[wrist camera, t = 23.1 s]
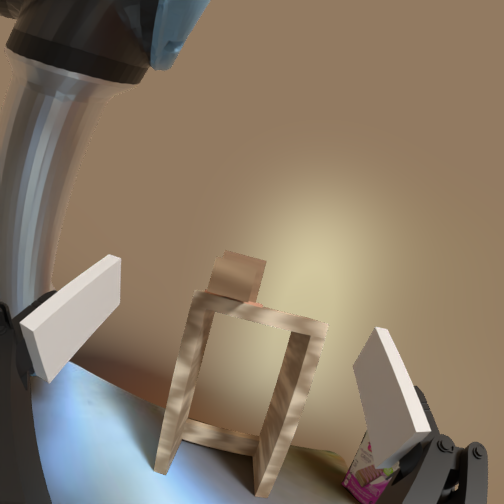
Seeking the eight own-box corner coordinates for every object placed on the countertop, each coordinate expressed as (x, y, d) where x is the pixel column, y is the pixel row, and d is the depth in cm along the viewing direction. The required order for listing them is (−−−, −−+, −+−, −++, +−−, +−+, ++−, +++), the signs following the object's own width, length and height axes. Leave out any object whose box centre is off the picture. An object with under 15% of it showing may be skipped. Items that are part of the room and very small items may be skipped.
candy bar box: (339, 484, 36) (371, 412, 39) (359, 480, 37) (391, 411, 40) (370, 515, 26) (414, 436, 28) (391, 508, 27) (433, 431, 29)
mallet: (263, 306, 23) (281, 236, 24) (192, 287, 23) (212, 218, 24) (253, 302, 47) (262, 267, 48) (218, 292, 47) (228, 257, 48)
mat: (204, 292, 38) (205, 289, 38) (212, 293, 48) (213, 291, 48) (262, 307, 38) (262, 304, 38) (258, 305, 48) (259, 303, 48)
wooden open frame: (153, 471, 31) (195, 289, 36) (173, 435, 45) (208, 291, 50) (267, 497, 31) (328, 324, 36) (262, 457, 45) (306, 317, 49)
